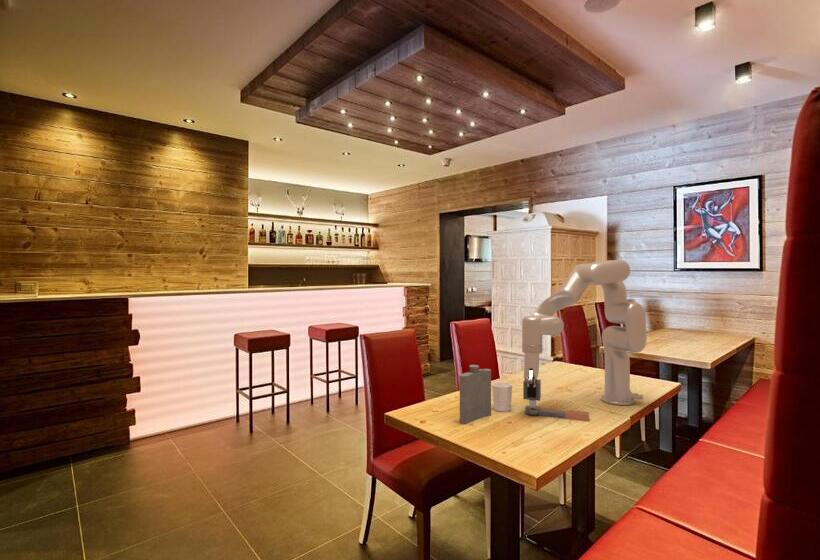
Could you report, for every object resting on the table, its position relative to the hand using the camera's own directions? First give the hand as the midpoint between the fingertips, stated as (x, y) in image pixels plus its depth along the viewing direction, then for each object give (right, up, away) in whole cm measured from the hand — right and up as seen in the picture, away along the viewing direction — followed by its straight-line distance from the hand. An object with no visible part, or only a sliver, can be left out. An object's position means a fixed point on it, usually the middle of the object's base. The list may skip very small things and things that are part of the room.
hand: (532, 394), depth 161 cm
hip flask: (-23, -8, -4) cm, 24 cm away
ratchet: (+8, -8, -3) cm, 11 cm away
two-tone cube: (0, -1, 0) cm, 1 cm away
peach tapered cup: (-10, -8, +6) cm, 14 cm away
